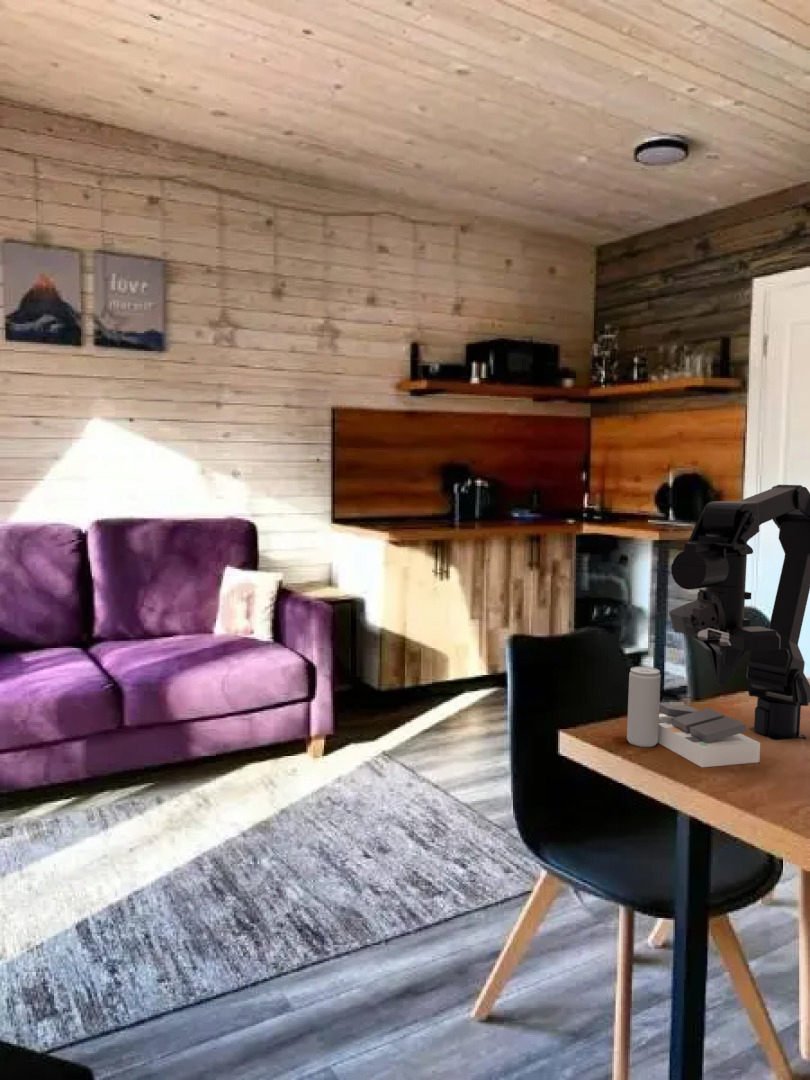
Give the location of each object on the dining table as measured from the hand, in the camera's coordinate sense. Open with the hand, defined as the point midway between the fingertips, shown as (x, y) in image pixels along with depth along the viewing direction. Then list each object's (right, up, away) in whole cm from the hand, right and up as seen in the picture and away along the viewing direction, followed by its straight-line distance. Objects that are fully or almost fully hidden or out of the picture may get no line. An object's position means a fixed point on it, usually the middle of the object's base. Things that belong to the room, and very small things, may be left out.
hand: (720, 685), depth 132 cm
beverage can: (-11, -11, +6) cm, 16 cm away
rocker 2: (-2, -6, +4) cm, 8 cm away
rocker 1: (-3, -6, +9) cm, 11 cm away
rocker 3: (-1, -7, -1) cm, 7 cm away
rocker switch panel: (-2, -11, +4) cm, 12 cm away
